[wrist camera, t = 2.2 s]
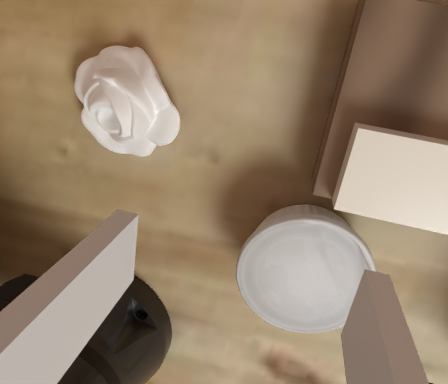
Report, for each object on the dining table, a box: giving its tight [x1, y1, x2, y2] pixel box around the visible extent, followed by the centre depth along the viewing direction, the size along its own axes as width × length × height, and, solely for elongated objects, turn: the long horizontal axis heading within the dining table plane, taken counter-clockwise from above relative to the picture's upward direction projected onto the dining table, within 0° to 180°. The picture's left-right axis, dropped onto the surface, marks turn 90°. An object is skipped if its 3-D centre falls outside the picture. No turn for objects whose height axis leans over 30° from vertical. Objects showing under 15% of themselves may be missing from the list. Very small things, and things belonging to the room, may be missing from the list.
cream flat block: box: [332, 123, 448, 235], centre depth 26 cm, size 9×6×2 cm, turn 81°
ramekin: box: [236, 204, 377, 333], centre depth 33 cm, size 11×11×5 cm
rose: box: [74, 45, 180, 157], centre depth 32 cm, size 10×4×10 cm
